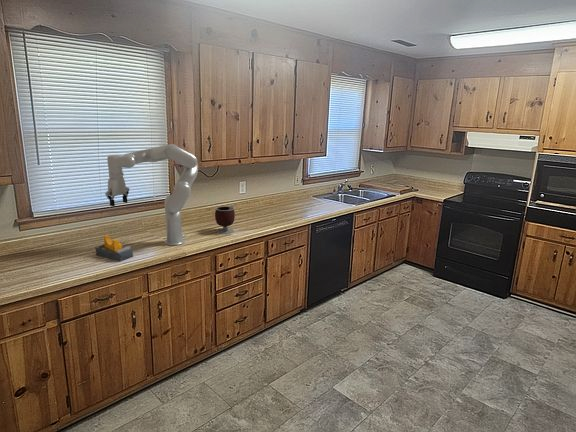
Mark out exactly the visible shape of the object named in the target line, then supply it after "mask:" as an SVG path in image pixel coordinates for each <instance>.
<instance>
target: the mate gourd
mask: <svg viewBox="0 0 576 432" xmlns="http://www.w3.org/2000/svg"><path fill="white" fill-rule="evenodd" d="M235 205H237V203H234V204H232V205H229V206H227V205H223V206H217V207H215V210H214V211H215V212H214V218H215V223H216V224H217V225H218V226H220V227H221V228H218V229H217V230H216V233H217V234H221V235H230V234H233V233H234V231H235V229H233V228H229V227H230V226H232V225H233V223H234V222H235V216H236V214H235V213H236V212H235V208H234V207H235Z"/></svg>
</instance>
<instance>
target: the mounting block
mask: <svg viewBox="0 0 576 432" xmlns="http://www.w3.org/2000/svg"><path fill="white" fill-rule="evenodd" d="M94 250H95V255H96V256H97V257H101V258H106V259H109V260H112V261H116V262H119V263H121V262H124V261H125V260H129V259H131V258H134V253H133V248H131V246H130V245H128V246H123V245H122V249H119V250H117V251H113V250H111V249H109V248H107V247H105V244H104V243H101V244H98V245H97V246H95V249H94Z"/></svg>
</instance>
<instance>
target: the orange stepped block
mask: <svg viewBox="0 0 576 432" xmlns="http://www.w3.org/2000/svg"><path fill="white" fill-rule="evenodd" d="M119 241H120V240H119V239H118V238H115V239H112V240H111V236H110V235H109V234H107V235H104V236H103V242H104V243H103V244H105V247H107V248H109V249H111V250H113V251H117V250H119V249H122V246H123V244H122V243H120V242H119Z"/></svg>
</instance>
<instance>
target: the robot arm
mask: <svg viewBox="0 0 576 432" xmlns="http://www.w3.org/2000/svg"><path fill="white" fill-rule="evenodd" d="M166 160H173V161H174V162H175V163H177V164H180V165H181V166H183V167H184V168H183V172H182V173H181V175H180V177H178V180H177V182H175V184H174V185H173V190H174V191H173V192H172V194H169V195H167V196H166V197H165V198H164V212H165V213H164V215H165V232H166V239H165V240H164V241H163V242H164V245H167V246H173V247H174V246H179V245H183V244H184V243H185V237H186V236H187V233H184V234H182V231H183V230H182V213H181V210H182V209H183V208H184V205H185V204H186V203H187V201H188V200H189V198H190V195H191V193H192V188H191V187H192V185H193V183H194V181H195V180H196V178H197V176H198V173H199V163H198V159H197V157H196V155H194V154H193V153H191V152H188V151H186V150H185V149H182V148H181V147H179V146H177V144H174V143H170V144H165V145H164V144H163V145H160V146H155V147H151V148H146V149H143V150H137V151H133V152H128V153H124V154H123V155H119V154H111V155H107V167H108V168H107V169H108V176H109V178H108V179H107V180H108V181H107V190H106V192H105V193H104V195H105V197H106V198H107V199H108V200H109V206H111V207H116V204H115V199H114V198H115V197H116V196H122V202H123V204H124V203H126V204H128V196H129V192H130V187H127V185H126V181H125V178H124V173H123V168H125V169H131V168H133V167H134V166H135V165H137V164H143V163H157V162H161V161H166Z"/></svg>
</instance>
